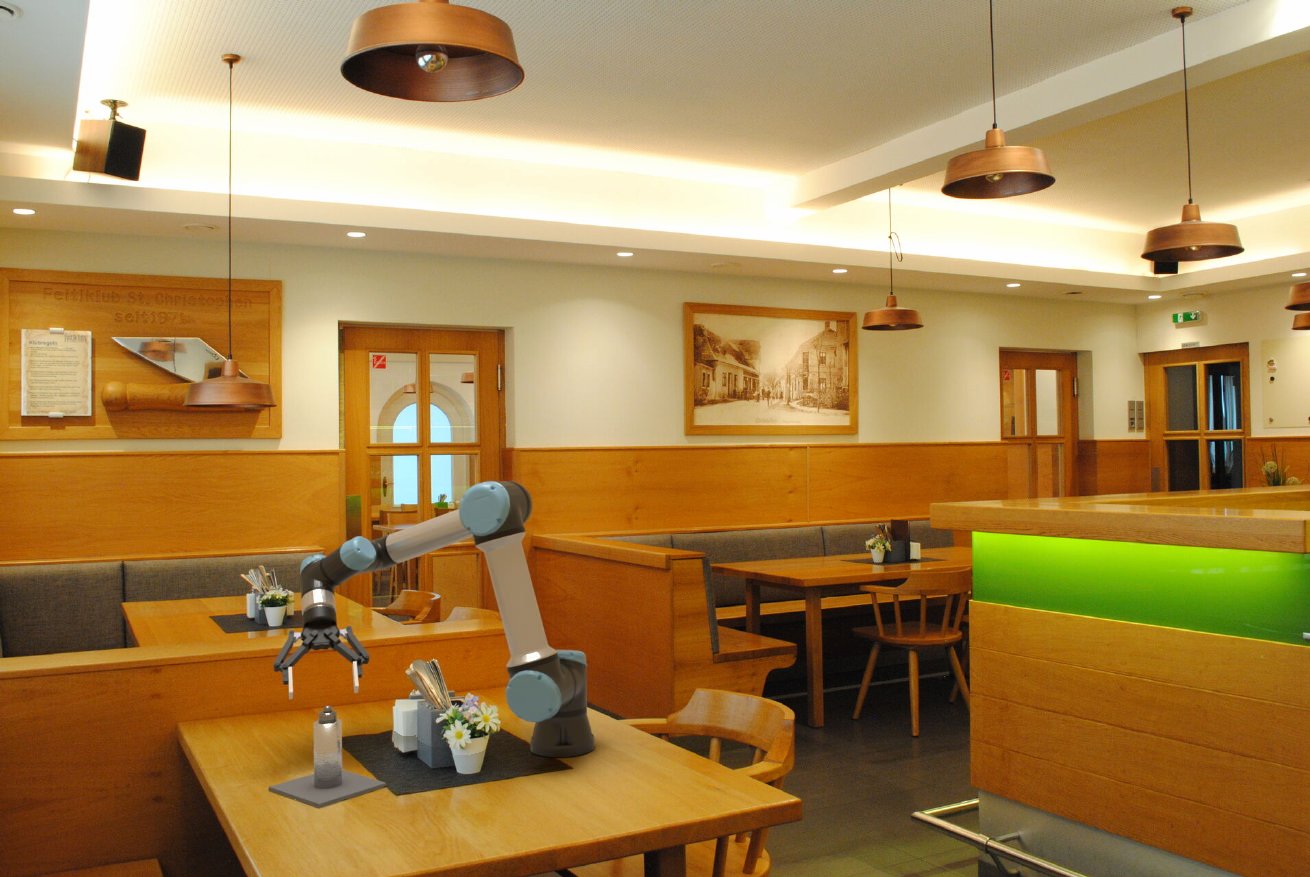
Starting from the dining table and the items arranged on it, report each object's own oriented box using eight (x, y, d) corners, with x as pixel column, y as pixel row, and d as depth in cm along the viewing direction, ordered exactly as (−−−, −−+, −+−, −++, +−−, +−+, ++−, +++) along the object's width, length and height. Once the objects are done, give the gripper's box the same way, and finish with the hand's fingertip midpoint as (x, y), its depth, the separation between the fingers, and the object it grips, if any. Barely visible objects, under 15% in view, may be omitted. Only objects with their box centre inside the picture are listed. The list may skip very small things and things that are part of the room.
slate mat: (386, 786, 210) (386, 782, 210) (319, 808, 197) (319, 803, 197) (335, 771, 221) (335, 767, 221) (268, 790, 208) (268, 786, 208)
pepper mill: (347, 783, 209) (347, 704, 210) (324, 790, 205) (323, 710, 205) (332, 778, 213) (331, 701, 213) (308, 785, 209) (307, 706, 209)
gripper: (373, 620, 240) (381, 696, 225) (261, 628, 230) (262, 708, 216) (375, 600, 235) (384, 677, 220) (261, 607, 225) (262, 688, 211)
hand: (324, 692), depth 218 cm, fingers open, 13 cm apart
